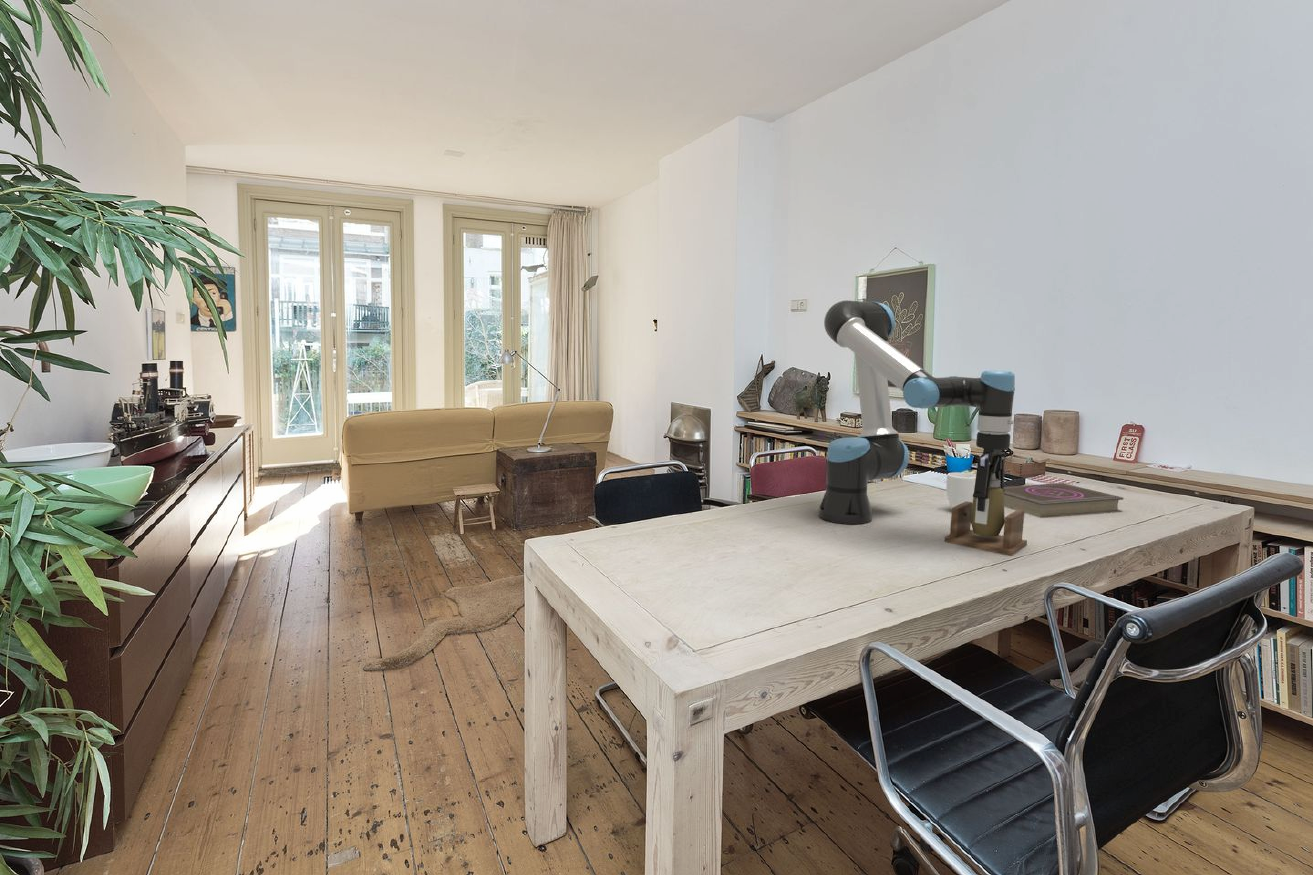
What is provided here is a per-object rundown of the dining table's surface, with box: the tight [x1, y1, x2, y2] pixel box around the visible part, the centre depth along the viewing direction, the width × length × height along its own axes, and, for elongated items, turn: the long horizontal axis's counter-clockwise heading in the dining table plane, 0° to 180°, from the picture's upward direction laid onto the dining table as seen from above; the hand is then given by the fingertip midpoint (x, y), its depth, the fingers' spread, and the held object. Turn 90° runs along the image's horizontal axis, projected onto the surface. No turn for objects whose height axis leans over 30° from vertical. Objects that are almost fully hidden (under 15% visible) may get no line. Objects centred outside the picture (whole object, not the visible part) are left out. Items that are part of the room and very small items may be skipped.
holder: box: [944, 501, 1028, 556], centre depth 164 cm, size 16×12×9 cm
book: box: [1003, 482, 1124, 519], centre depth 204 cm, size 30×22×5 cm
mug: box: [946, 472, 976, 510], centre depth 196 cm, size 12×8×11 cm
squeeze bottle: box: [970, 473, 1006, 537], centre depth 163 cm, size 8×8×18 cm
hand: (986, 519), depth 164 cm, fingers closed on squeeze bottle, 8 cm apart
